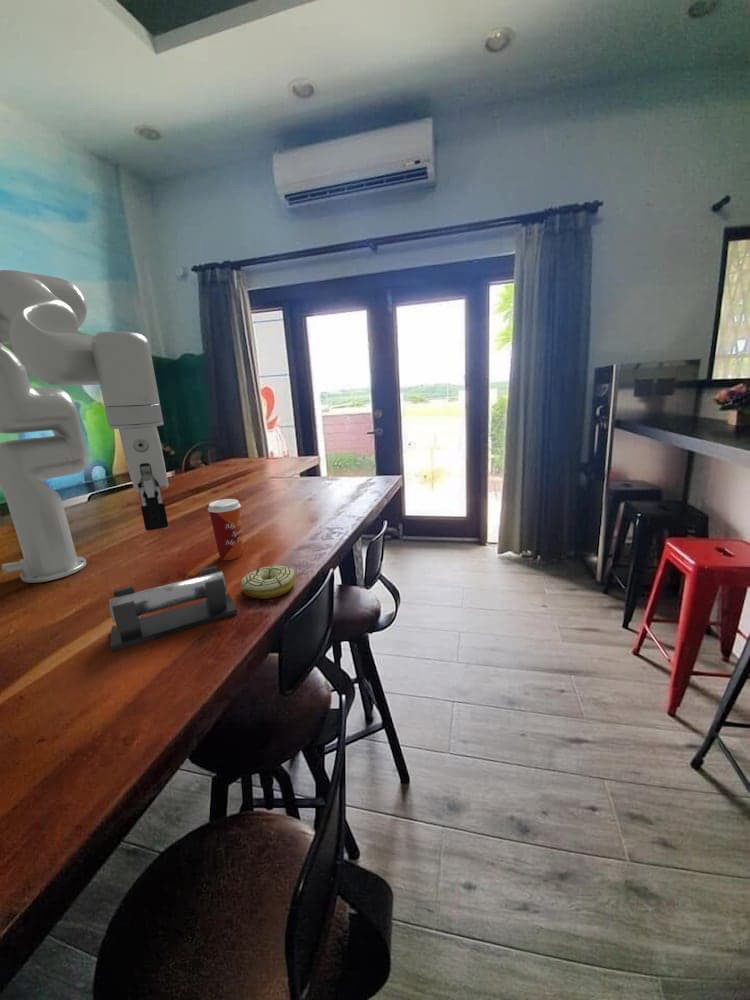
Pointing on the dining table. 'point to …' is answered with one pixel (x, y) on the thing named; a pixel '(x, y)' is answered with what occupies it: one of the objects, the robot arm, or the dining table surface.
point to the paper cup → (227, 527)
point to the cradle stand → (169, 615)
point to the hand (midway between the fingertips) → (155, 520)
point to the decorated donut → (268, 582)
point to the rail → (167, 595)
